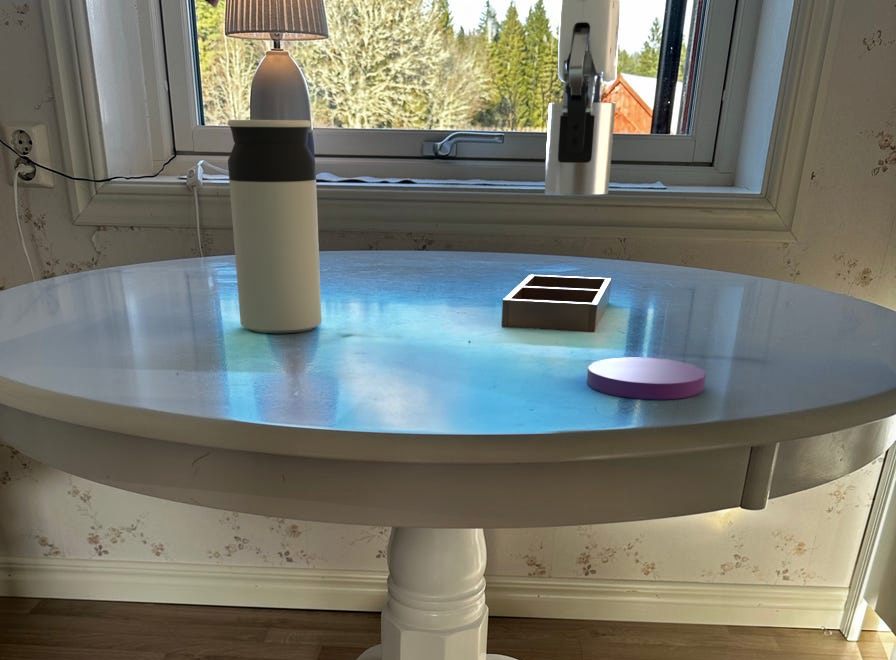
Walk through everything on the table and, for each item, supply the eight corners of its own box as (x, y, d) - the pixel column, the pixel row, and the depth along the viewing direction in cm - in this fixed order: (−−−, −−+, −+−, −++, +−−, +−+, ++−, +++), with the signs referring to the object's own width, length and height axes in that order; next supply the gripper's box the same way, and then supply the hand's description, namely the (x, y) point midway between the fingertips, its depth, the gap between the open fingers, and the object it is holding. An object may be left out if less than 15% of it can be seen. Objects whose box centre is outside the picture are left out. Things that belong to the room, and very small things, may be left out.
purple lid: (703, 375, 78) (705, 361, 77) (703, 403, 70) (706, 387, 70) (592, 368, 80) (593, 354, 79) (581, 394, 72) (582, 379, 72)
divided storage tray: (608, 308, 106) (611, 278, 104) (594, 338, 91) (597, 304, 89) (527, 303, 108) (529, 274, 106) (500, 332, 93) (502, 299, 91)
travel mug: (313, 335, 91) (304, 120, 82) (231, 333, 91) (214, 119, 83) (327, 320, 98) (320, 120, 89) (251, 318, 98) (236, 119, 90)
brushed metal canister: (610, 192, 99) (617, 103, 95) (605, 195, 93) (613, 102, 90) (548, 191, 100) (553, 104, 97) (540, 195, 95) (545, 102, 91)
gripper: (629, -78, 79) (609, 164, 87) (640, -46, 94) (622, 159, 102) (539, -73, 81) (528, 164, 89) (563, -42, 95) (552, 159, 104)
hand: (578, 159), depth 95 cm, fingers closed on brushed metal canister, 6 cm apart
